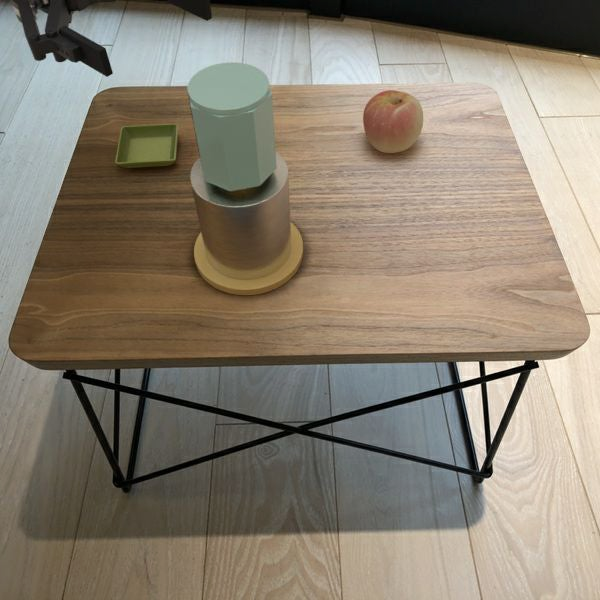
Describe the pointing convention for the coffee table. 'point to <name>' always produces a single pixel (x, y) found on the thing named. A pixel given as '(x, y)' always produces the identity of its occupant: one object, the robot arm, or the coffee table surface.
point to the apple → (393, 121)
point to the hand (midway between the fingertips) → (159, 33)
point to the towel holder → (246, 234)
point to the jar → (233, 124)
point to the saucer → (147, 145)
